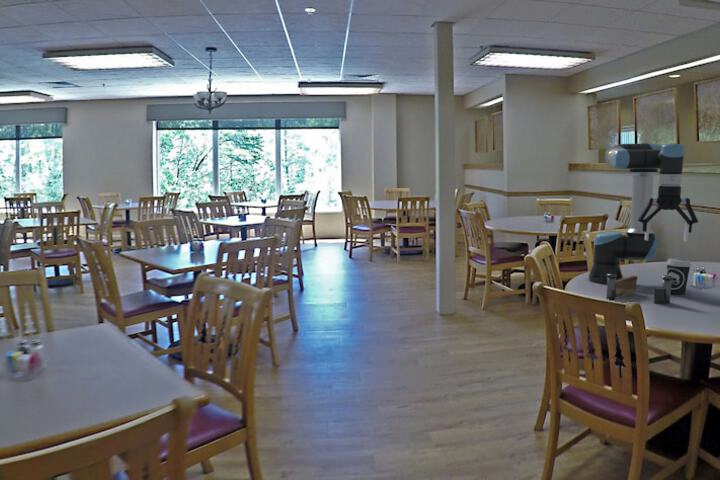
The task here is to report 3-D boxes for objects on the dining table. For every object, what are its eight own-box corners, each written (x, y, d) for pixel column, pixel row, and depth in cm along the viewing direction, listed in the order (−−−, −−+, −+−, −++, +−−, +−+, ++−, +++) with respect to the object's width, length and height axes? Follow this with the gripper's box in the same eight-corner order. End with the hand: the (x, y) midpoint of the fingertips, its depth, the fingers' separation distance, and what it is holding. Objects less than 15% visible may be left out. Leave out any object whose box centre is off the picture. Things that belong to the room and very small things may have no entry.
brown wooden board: (610, 297, 233) (611, 281, 232) (632, 291, 243) (633, 275, 242) (614, 298, 232) (615, 281, 231) (636, 292, 242) (637, 276, 241)
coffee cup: (692, 297, 234) (695, 262, 232) (667, 296, 236) (670, 261, 234) (684, 291, 244) (686, 258, 241) (660, 290, 245) (662, 257, 243)
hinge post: (604, 298, 234) (605, 273, 233) (614, 298, 233) (616, 273, 232) (606, 300, 230) (607, 275, 229) (616, 301, 229) (618, 275, 228)
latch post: (651, 300, 230) (653, 274, 228) (669, 301, 228) (671, 275, 226) (654, 303, 225) (656, 277, 224) (672, 304, 224) (674, 278, 222)
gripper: (635, 185, 210) (632, 241, 213) (710, 186, 203) (705, 243, 207) (631, 184, 217) (628, 238, 220) (703, 184, 210) (699, 240, 214)
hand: (665, 240), depth 214 cm, fingers open, 13 cm apart
